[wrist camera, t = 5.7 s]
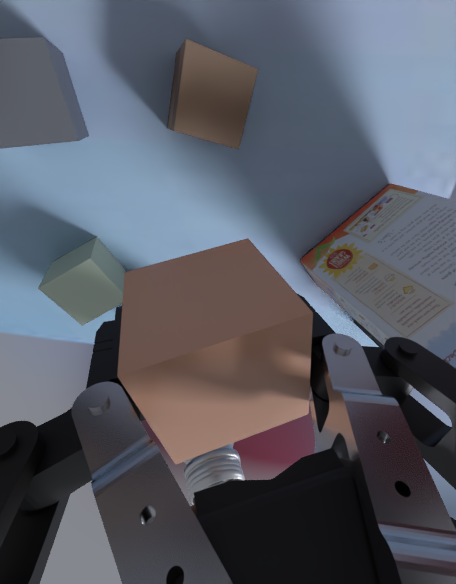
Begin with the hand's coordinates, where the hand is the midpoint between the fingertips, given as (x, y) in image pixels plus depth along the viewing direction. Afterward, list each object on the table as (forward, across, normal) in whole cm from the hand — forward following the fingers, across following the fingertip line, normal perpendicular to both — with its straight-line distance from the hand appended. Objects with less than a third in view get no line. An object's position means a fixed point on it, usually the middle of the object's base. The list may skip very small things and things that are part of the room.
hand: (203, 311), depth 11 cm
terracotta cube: (+1, 0, 0) cm, 1 cm away
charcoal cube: (+18, +8, -8) cm, 21 cm away
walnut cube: (+18, -4, -8) cm, 20 cm away
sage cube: (+18, +8, +6) cm, 21 cm away
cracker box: (+18, -23, +6) cm, 30 cm away
